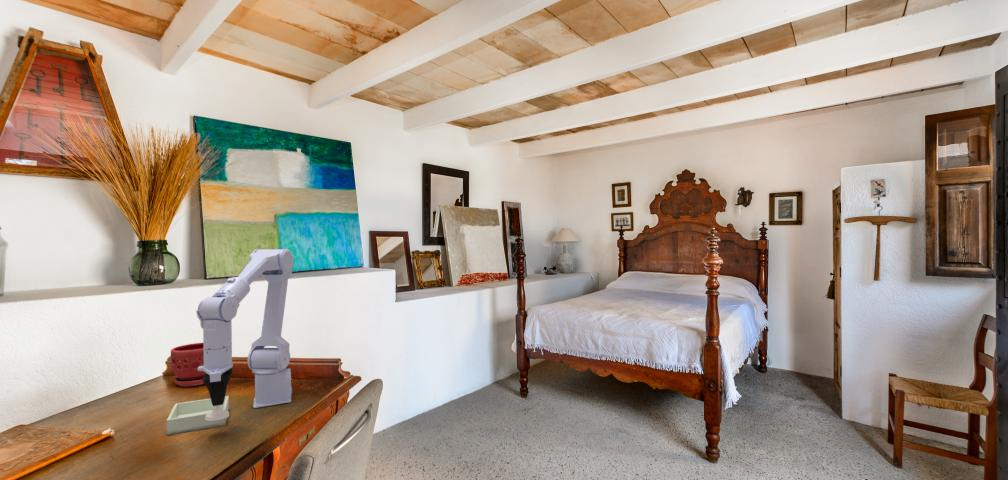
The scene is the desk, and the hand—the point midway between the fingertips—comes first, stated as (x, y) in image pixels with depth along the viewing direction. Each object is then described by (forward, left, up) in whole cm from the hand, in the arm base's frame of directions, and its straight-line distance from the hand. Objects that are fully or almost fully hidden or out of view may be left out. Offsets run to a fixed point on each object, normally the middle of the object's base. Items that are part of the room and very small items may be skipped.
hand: (218, 402), depth 107 cm
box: (+5, -12, -8) cm, 15 cm away
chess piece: (0, 0, -3) cm, 4 cm away
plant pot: (+10, -49, -8) cm, 51 cm away
